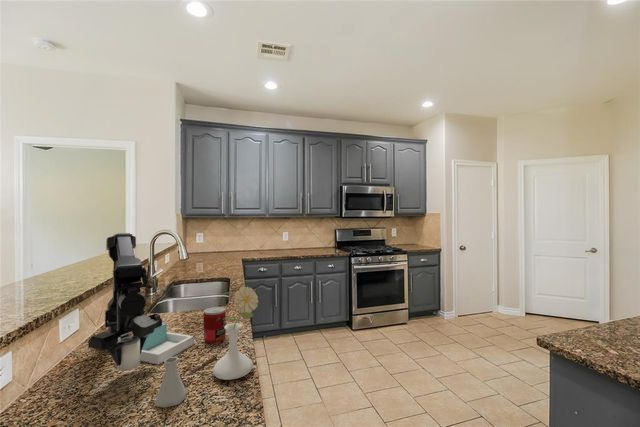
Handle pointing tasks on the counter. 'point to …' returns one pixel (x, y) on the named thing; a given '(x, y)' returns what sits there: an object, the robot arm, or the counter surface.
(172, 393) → the flask
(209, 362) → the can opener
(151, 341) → the pusher
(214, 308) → the canned food
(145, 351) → the lane
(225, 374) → the flower in vase
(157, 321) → the robot arm
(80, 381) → the counter surface
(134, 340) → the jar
